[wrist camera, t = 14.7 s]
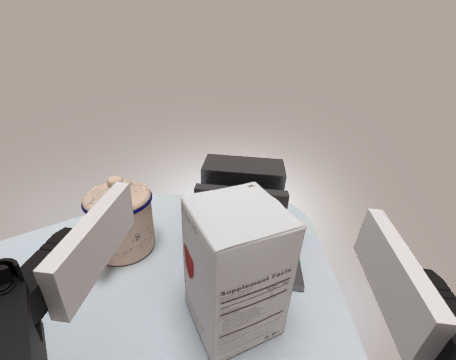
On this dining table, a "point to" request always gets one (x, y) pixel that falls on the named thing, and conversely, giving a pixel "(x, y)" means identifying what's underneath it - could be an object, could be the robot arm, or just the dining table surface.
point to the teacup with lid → (141, 229)
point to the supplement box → (238, 266)
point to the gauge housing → (248, 180)
